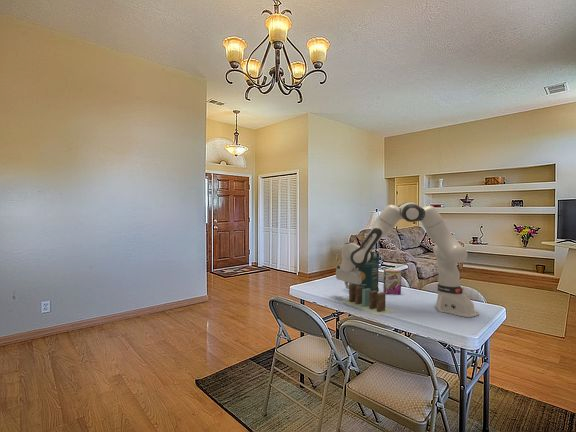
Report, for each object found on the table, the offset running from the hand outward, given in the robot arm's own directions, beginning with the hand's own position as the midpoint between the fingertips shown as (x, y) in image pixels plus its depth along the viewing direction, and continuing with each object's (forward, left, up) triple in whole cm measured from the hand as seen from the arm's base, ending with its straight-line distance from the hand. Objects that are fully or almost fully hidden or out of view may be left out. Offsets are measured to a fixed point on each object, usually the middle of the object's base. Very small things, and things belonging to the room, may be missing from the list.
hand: (348, 288), depth 198 cm
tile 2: (-21, 0, -7) cm, 22 cm away
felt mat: (-15, 0, -7) cm, 17 cm away
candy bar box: (-4, -38, -8) cm, 39 cm away
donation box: (+10, -24, -8) cm, 27 cm away
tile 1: (-26, 0, -7) cm, 27 cm away
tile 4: (-10, 0, -7) cm, 12 cm away
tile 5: (-4, 0, -7) cm, 8 cm away
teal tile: (-15, 0, -7) cm, 17 cm away
